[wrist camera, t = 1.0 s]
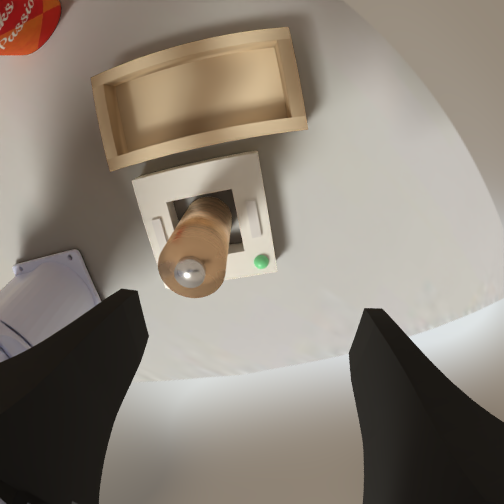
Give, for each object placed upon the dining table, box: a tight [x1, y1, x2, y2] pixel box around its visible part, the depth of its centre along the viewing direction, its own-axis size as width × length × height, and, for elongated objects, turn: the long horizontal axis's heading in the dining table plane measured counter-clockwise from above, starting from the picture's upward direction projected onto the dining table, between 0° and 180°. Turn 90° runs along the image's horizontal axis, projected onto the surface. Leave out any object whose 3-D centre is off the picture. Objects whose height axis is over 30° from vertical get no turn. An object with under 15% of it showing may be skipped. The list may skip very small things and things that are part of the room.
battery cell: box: [158, 197, 232, 298], centre depth 16 cm, size 3×3×8 cm
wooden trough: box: [91, 27, 308, 172], centre depth 15 cm, size 12×6×2 cm, turn 100°
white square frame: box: [132, 150, 277, 289], centre depth 18 cm, size 8×8×2 cm
